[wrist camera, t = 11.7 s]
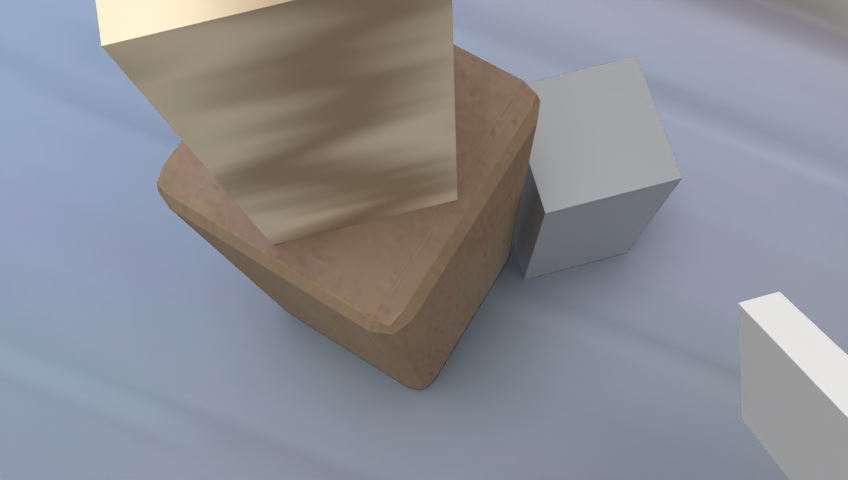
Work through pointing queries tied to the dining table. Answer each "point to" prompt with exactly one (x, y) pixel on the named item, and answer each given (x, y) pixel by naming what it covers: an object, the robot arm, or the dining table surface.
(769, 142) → the dining table surface
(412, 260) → the block
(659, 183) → the grey block
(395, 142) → the oak block
